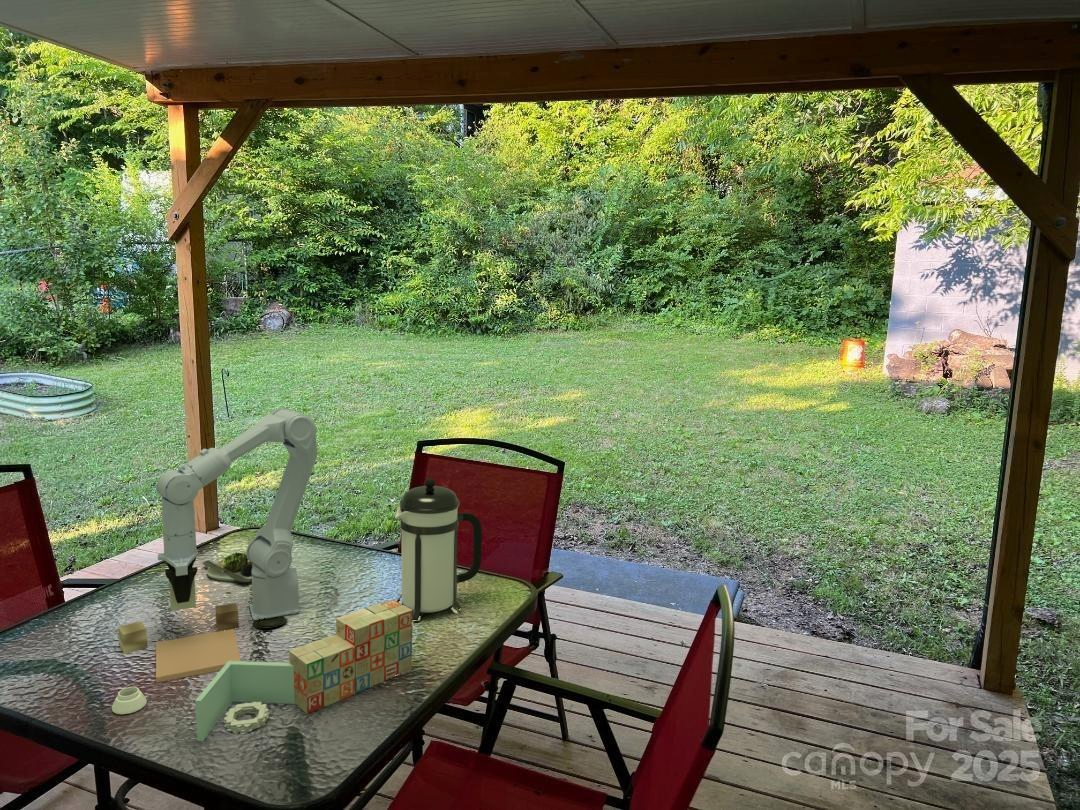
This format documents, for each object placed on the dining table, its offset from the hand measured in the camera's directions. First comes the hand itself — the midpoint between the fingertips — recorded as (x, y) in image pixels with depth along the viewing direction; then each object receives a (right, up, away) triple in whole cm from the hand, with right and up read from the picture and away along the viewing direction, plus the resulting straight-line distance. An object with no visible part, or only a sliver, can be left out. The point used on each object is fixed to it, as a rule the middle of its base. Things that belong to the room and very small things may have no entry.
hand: (182, 596), depth 145 cm
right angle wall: (+24, -14, -25) cm, 38 cm away
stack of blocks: (+38, -12, -14) cm, 42 cm away
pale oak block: (-8, -9, -4) cm, 12 cm away
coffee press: (+47, -7, +18) cm, 51 cm away
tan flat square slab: (+6, -10, -6) cm, 13 cm away
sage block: (0, -2, 0) cm, 2 cm away
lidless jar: (+2, -13, -23) cm, 27 cm away
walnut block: (+6, -8, +6) cm, 12 cm away
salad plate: (-1, -3, +35) cm, 35 cm away
